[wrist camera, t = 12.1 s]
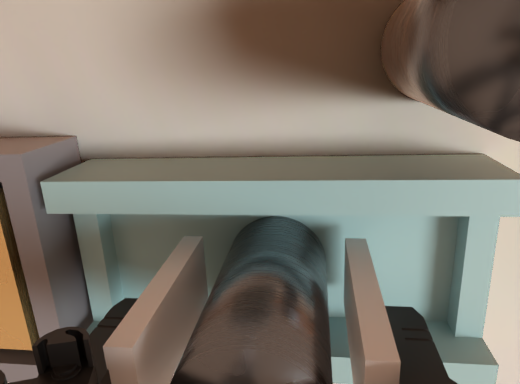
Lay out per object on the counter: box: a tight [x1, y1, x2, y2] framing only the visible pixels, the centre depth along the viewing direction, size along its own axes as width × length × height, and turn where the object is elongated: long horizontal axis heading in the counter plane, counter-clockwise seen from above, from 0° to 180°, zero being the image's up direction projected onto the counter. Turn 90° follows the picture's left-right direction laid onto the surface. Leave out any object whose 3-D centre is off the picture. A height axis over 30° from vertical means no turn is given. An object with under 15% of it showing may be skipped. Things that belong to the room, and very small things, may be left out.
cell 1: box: [170, 216, 333, 384], centre depth 13 cm, size 4×4×9 cm
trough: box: [40, 154, 520, 384], centre depth 16 cm, size 8×16×4 cm, turn 92°
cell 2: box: [381, 0, 520, 142], centre depth 11 cm, size 4×4×9 cm
